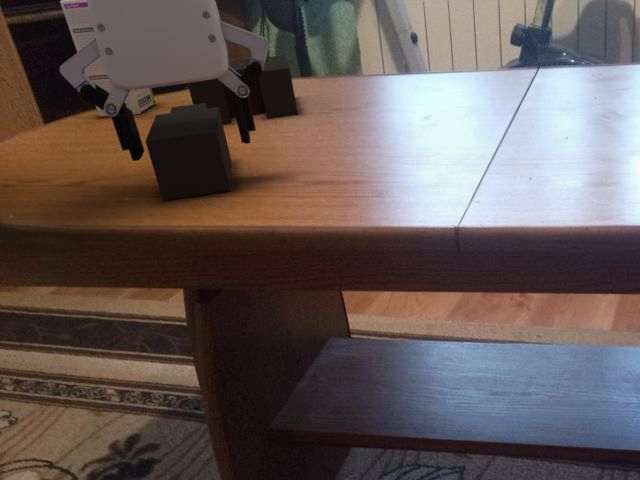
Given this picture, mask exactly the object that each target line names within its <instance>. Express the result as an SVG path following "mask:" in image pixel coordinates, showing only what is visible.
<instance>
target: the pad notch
mask: <svg viewBox="0 0 640 480" xmlns="http://www.w3.org/2000/svg"><path fill="white" fill-rule="evenodd" d="M249 61H250V58H248V59H247V58H246V59H240V60H239V59H237V60H230V62H229V66H230V67H231V68H232V69H234V70H235V71H236V72H237V73H238V74H240V75H242V73H243V71H244V70H245V68H246V67H247V65H248V64H249ZM291 74H292V73H291V68H290V66H289V62H288V60H287V57H286V55H285V54H283V55H282V54H281V55H273V56H266V60H265V63H264V67H263V71H262V74H261V76H260V77H259V79H258V80H257V82H256V83H255V85H254V86H253V88H252V89H251V91H250V92H249V95H248V98H249V102H250V106H251V111H252V115H253V116H254V115H260V114H261V115H262V114H265V115H266V119H272V118H280V117H287V116H296V115H298V114H299V112H298V107H297V101H296V96H295V95H296V94H295V90H294V85H293V80H292V75H291ZM187 87H188V91H189V95H190V98H191V102H192V105H194V104H202V103H206V105H207V108H215V107H219V111H220V115H221V119H222V123H223V125H226V124H231V122H232V118H236V116H235V112H234V108H233V104H232V95H233V92H232V91H231V90H230V89H229V88H228V87H227V86H225V85H224V84H223V83H222V82H220V81H219V80H218V79H217V78H215V79H210V80H205V81H198V82H191V83H187Z"/></svg>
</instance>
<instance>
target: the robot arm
mask: <svg viewBox="0 0 640 480" xmlns="http://www.w3.org/2000/svg"><path fill="white" fill-rule="evenodd" d="M87 3H88V7H89V12H90V16H91V20H92V25H93V29H94V33H95V37H96V38H95V39H94V40H93V41H91V42H90V43H89V44H88V45H86V46H85V47H84V48H83V49H81V50H80V51H79V52H77V51H76V53H75V54H73V55H72V56H71V57H70V58H69V59H67V60H66V61H64V63H62V64H61V65H60V66H59V73H60V74H61V76H63V78H64V79H65V80H66V81H67V82H68V83H69V84H70V85H71V86H72V88H74V89H76V91H78V93H79V94H80V96H81V97H82V98H83V99H84V100H86V101H87V102H89V103H90V104H92V105H94V106H95V107H96V106H97V107H99V108H100V109H102V110H103V111H104V112H105V113H106V114H107V115H108V116H107V117H110V118H111V121H112V123H113V126H114V129H115V132H116V135H117V139H118V141H119V144H120V148H121V149H122V151H128V152H129V155H130V157H131V161H133V162H137V161H140V160H141V159H142V157H143V155H144V154H145V148H144V145H143V141H142V139H141V135H140V131H139V129H138V125H137V123H136V119H135V116H134V115H133V113H132V110H129V108H127V106H126V103H124V102H125V100H126V98H127V96H128V94H129V92H130V90H138V89H147V88H151V89H154V88H161V87H169V86H170V87H171V86H176V85H183V84H188V83H191V82H198V81H205V80H210V79H215V78H217V79H218V80H219V81H220V82H222V83H223V84H224V85H225V86H227V87H228V88H229V89H230V90H231V91H232V92H233V95H232V104H233V108H234V112H235V116H236V117H235V120H236V125H237V128H238V132H239V136H240V140H241V144H244V145H247V144H251V135H250V132H256V130H257V127H256V125H255V124H256V123H255V120H254V119H255V118H254V114H253V115H252V111H251V106H250V102H249V98H248V95H249V92H250V91H251V89H252V88H253V86H254V85H255V83H256V82H257V80H258V79H259V77H260V76H261V74H262V71H263V67H264V63H265V60H266V57H268V56H267V55H268V52H269V48H270V43H269V40H268V39H267V37H265V36H262V35H259V34H257V33H254V32H252V31H249V30H246V29H243V28H241V27H238V26H236V25H233V24H230V23H227V22H224V21H222V19H221V16H220V12H219V9H218V5H217V1H216V0H87ZM227 41H228V42H230V43H233V44H236V45H239V46H241V47H243V48H246V49H248V50H250V57H249V59H250V61H249V64H248V65H247V67H246V68H245V70H244V71H243V73H242V75H240V74H238V73H237V72H236V71H235V70H234V69H232V68H231V67H230V66H229V62H230V61H231V57H230V49H229V46H228V42H227ZM100 56H101V59H102V63H103V66H104V69H105V71H106V74H107V77H108V79H109V81H110V82H111V84H112V85H113V88H112V90H111V92H110V93H109V92H107V91H105V90H104V89H102V88H101V87H99V86H98V85H96V84H94V83H93V82H92V81H91V80H90V79H89V78H88V76H87V75H86V74H85V68H86V67H87V66H89V65H90V64H91V63H92V62H94V61H95V60H96V59H97V58H99V57H100Z"/></svg>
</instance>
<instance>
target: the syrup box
mask: <svg viewBox="0 0 640 480" xmlns="http://www.w3.org/2000/svg"><path fill="white" fill-rule="evenodd" d="M59 3H60V6H61V9H62V12H63V15H64V17H65V21H66V23H67V27H68V29H69V32H70V35H71V38H72V42H73V43H74V46H75V50H76V53H77V52H79V51H80V50H81V49H83V48H84V47H85V46H86V45H88V44H89V43H90V42H91V41H93V40H94V39H95V38H96V37H95V33H94V29H93V25H92V20H91V16H90V12H89V7H88V3H87V0H60V1H59ZM85 74H86V75H87V76H88V78H89V79H90V80H91V81H92V82H93V83H94V84H96V85H98V86H99V87H101V88H102V89H104V90H105V91H107V92H109V93H110V92H111V90H112V88H113V85H112V84H111V82H110V81H109V79H108V77H107V74H106V71H105V69H104V66H103V63H102V59H101V56H100V57H99V58H97V59H96V60H95V61H94V62H92V63H91V64H90V65H89V66H87V67H86V68H85ZM152 89H153V88H147V89H138V90H130V92H129V94H128V96H127V98H126V100H125V102H124V103H126V106H127V108H129V110H132V113H133V116H134V115H140V114H142V112H144V111H146V110H147V109H148V108H149V109H150V108H151V107H152V106H155V104H156V103H157V102H156V99H155V96H154V93H153V90H152ZM95 107H96V111H97V114H98V116H99V117H109V116H108V115H107V114H106V113H105V112H104V111H103V110H102V109H100V108H99V107H97V106H95Z"/></svg>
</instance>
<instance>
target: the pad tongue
mask: <svg viewBox="0 0 640 480" xmlns="http://www.w3.org/2000/svg"><path fill="white" fill-rule="evenodd" d="M145 145H146V148H147V152H148V154H149V158H150V161H151V165H152V168H153V172H154V174H155V178H156V181H157V184H158V188H159V192H160V195H161V198H162V201H163V202H167V201H173V200H180V199H186V198H194V197H199V196H200V197H201V196H207V195H213V194H220V193H227V192H232V157H231V154H230V148H229V145H228V140H227V137H226V132H225V128H224V124H223V123H222V119H221V115H220V111H219V107H215V108H207V105H206V103H202V104H194V105H193V104H188V105H180V106H179V105H178V106H172V107H171V109H170V111H169V112H167V113H161V114H160V113H159V114H156V115H155V116H154V119H153V121H152V124H151V125H150V129H149V132H148V134H147V136H146V139H145Z"/></svg>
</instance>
